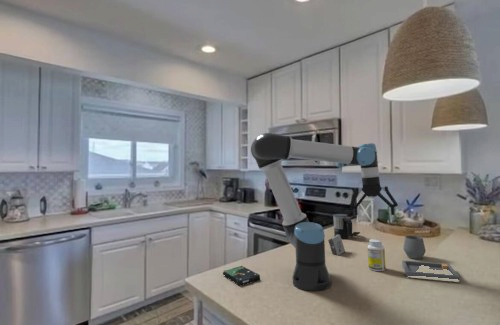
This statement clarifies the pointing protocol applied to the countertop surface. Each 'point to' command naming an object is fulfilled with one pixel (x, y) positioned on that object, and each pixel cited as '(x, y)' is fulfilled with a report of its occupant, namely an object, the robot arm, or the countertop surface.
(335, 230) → the milk frother
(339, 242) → the electrical switch
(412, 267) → the grey tray
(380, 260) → the supplement bottle
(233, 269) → the disk drive
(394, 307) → the countertop surface
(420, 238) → the cup
